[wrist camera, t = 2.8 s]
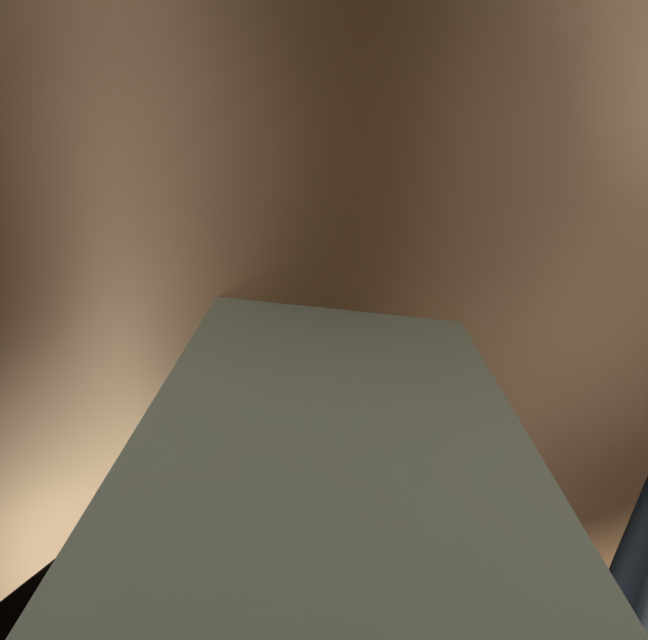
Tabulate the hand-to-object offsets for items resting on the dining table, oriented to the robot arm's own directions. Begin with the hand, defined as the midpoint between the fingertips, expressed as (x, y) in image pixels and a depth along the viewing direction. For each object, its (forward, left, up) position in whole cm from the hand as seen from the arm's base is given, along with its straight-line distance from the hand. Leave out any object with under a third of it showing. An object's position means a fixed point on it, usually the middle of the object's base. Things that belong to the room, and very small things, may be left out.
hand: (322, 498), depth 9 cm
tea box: (0, 0, -1) cm, 1 cm away
